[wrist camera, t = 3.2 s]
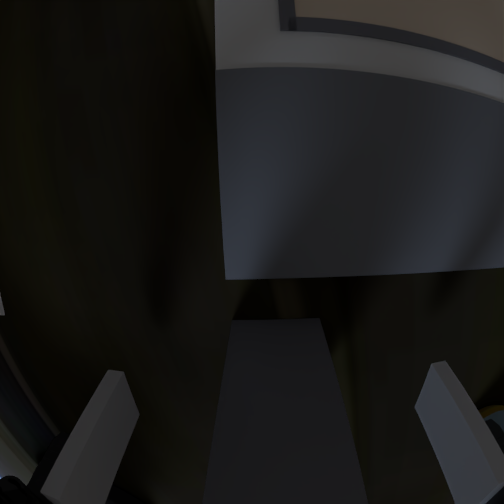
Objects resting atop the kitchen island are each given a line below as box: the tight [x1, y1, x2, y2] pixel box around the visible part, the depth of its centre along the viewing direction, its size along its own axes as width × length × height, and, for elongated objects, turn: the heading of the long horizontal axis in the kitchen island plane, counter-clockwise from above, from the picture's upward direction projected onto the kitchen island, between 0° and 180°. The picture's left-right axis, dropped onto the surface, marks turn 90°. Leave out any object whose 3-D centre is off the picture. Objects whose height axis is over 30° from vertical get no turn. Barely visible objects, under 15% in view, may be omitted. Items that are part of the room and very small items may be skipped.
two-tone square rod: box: [202, 318, 368, 504], centre depth 9 cm, size 4×4×12 cm
